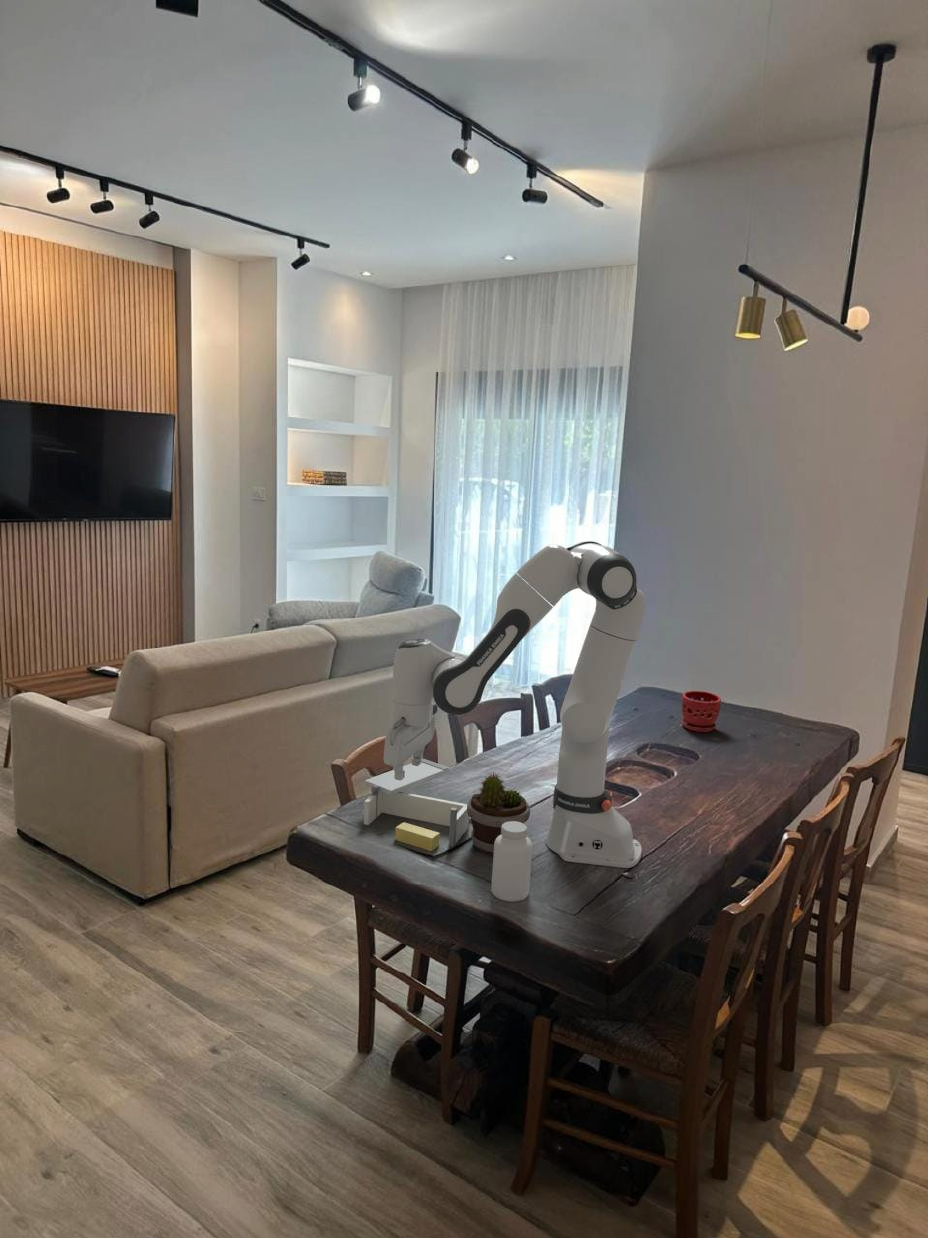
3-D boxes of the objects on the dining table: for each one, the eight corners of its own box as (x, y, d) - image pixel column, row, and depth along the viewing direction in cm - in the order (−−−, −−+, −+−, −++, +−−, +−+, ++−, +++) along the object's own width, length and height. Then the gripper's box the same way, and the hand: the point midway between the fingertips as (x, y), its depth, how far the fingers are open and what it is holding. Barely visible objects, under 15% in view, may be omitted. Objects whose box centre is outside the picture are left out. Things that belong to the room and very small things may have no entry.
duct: (468, 828, 203) (470, 793, 201) (453, 846, 193) (455, 810, 191) (379, 810, 211) (380, 776, 209) (360, 827, 200) (361, 792, 199)
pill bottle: (497, 904, 169) (502, 836, 166) (486, 885, 176) (490, 819, 173) (534, 901, 171) (539, 833, 168) (521, 881, 178) (526, 816, 175)
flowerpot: (489, 826, 204) (493, 749, 200) (540, 847, 195) (546, 766, 191) (451, 846, 193) (455, 764, 189) (503, 868, 184) (509, 783, 180)
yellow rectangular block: (439, 846, 193) (439, 833, 192) (431, 852, 190) (432, 838, 190) (403, 835, 198) (403, 822, 197) (395, 840, 195) (395, 827, 194)
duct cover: (423, 763, 225) (423, 758, 225) (449, 772, 219) (449, 767, 219) (359, 786, 207) (359, 781, 207) (385, 797, 201) (385, 792, 201)
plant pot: (672, 723, 295) (675, 691, 292) (704, 721, 299) (707, 689, 296) (692, 735, 282) (696, 701, 280) (725, 733, 286) (729, 700, 284)
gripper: (405, 728, 171) (402, 791, 173) (441, 702, 190) (437, 760, 192) (377, 723, 173) (374, 785, 175) (415, 698, 192) (412, 755, 194)
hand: (408, 771), depth 184 cm, fingers open, 8 cm apart
